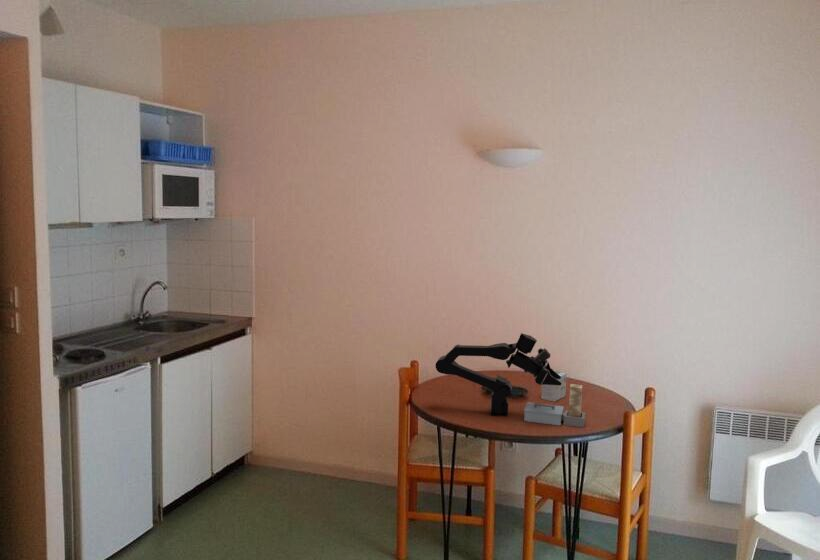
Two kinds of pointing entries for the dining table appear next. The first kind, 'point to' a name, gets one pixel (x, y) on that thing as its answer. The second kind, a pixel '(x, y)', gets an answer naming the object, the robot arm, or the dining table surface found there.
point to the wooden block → (575, 400)
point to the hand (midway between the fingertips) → (560, 381)
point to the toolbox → (551, 415)
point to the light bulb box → (555, 389)
